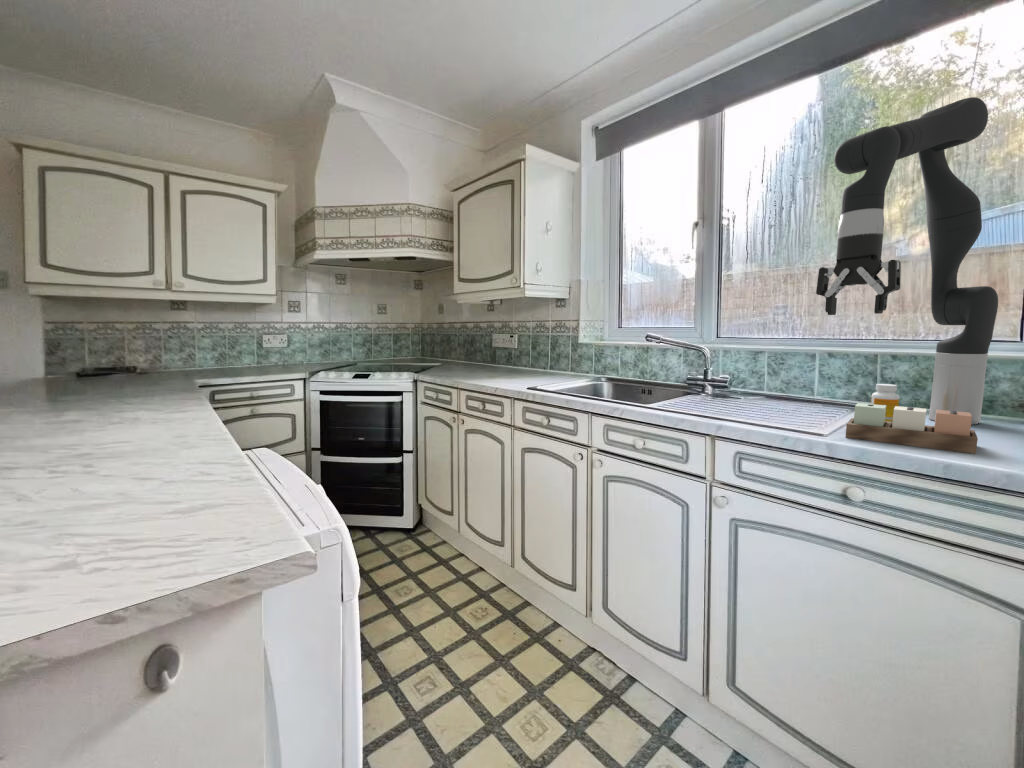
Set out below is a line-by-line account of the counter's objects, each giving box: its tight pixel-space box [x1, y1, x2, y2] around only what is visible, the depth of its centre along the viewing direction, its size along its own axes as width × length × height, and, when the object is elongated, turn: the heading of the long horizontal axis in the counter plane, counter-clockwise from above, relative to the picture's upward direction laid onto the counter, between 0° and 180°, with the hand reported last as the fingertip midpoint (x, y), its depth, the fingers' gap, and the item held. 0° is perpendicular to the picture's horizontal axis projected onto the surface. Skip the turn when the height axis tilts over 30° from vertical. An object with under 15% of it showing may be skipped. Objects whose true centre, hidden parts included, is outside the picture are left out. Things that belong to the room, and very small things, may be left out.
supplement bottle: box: [870, 383, 900, 422], centre depth 113 cm, size 5×5×10 cm
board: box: [845, 417, 979, 455], centre depth 96 cm, size 20×9×3 cm, turn 48°
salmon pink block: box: [933, 410, 972, 436], centre depth 91 cm, size 5×5×4 cm
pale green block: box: [853, 402, 886, 427], centre depth 100 cm, size 5×5×4 cm
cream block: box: [892, 406, 927, 431], centre depth 95 cm, size 5×5×4 cm
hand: (854, 314), depth 97 cm, fingers open, 8 cm apart
